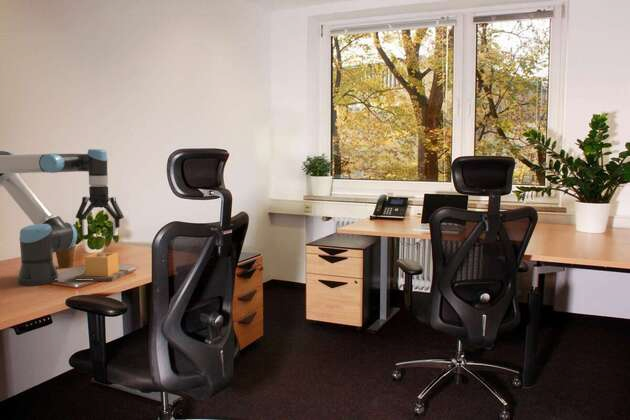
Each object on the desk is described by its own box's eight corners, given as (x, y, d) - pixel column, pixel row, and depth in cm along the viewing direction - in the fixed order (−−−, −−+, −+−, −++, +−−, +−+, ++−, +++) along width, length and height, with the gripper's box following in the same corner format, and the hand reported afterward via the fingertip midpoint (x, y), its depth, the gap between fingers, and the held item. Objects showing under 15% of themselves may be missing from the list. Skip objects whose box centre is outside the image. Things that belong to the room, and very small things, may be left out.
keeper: (111, 281, 225) (111, 258, 224) (75, 280, 227) (74, 258, 226) (128, 272, 241) (127, 251, 240) (94, 272, 243) (93, 251, 242)
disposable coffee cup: (68, 269, 249) (67, 243, 248) (50, 268, 251) (48, 243, 250) (81, 265, 258) (80, 240, 257) (63, 264, 260) (62, 239, 259)
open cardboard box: (108, 276, 228) (107, 257, 228) (85, 275, 229) (84, 257, 229) (118, 270, 238) (118, 253, 238) (97, 270, 239) (96, 252, 238)
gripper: (130, 185, 233) (132, 234, 235) (75, 184, 235) (77, 233, 237) (122, 186, 225) (124, 236, 227) (65, 185, 227) (67, 235, 230)
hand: (100, 235), depth 232 cm, fingers open, 13 cm apart
